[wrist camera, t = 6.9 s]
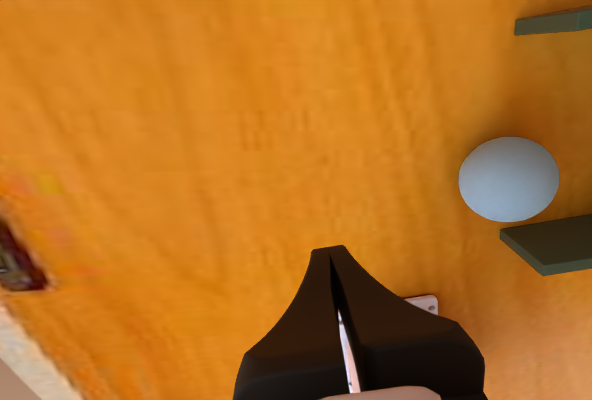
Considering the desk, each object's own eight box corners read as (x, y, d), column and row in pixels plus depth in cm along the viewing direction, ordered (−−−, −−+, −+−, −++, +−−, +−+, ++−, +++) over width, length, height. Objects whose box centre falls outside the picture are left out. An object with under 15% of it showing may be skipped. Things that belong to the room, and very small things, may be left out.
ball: (431, 179, 23) (494, 183, 24) (464, 238, 19) (537, 240, 20) (472, 114, 19) (544, 123, 20) (521, 173, 16) (605, 180, 17)
